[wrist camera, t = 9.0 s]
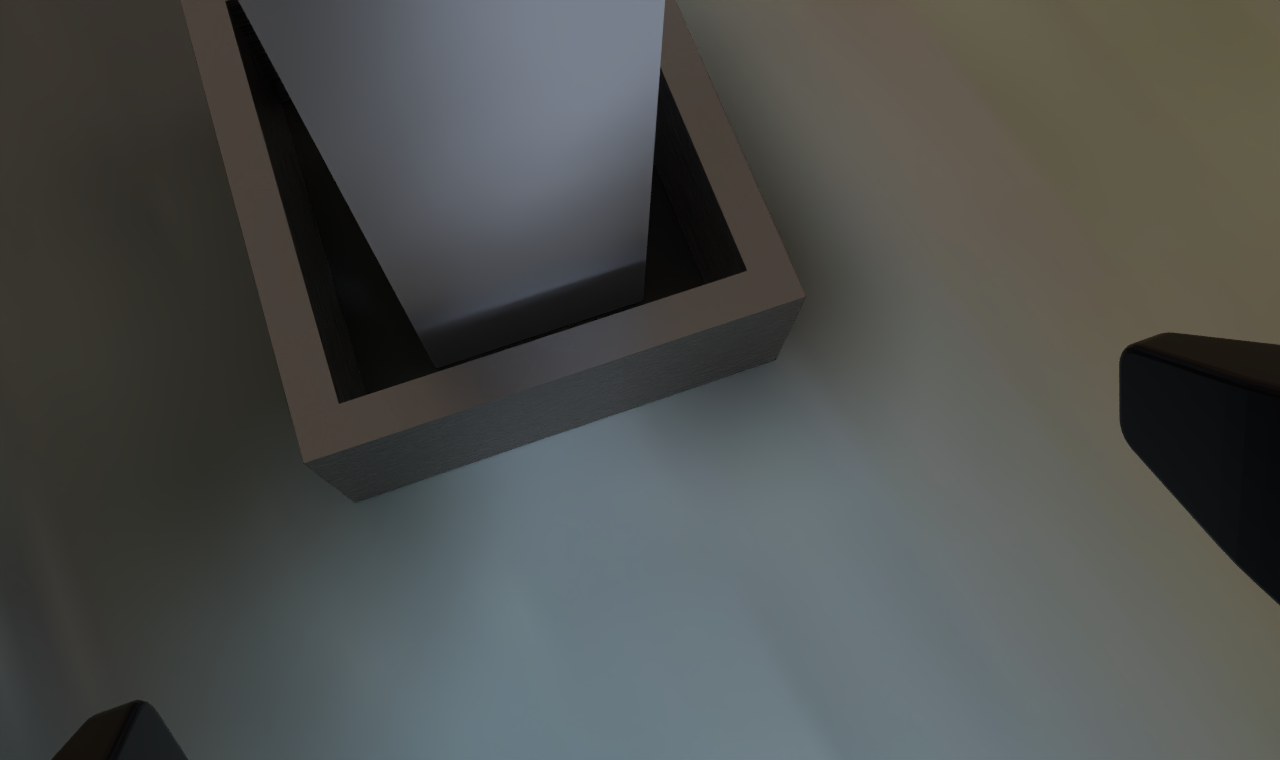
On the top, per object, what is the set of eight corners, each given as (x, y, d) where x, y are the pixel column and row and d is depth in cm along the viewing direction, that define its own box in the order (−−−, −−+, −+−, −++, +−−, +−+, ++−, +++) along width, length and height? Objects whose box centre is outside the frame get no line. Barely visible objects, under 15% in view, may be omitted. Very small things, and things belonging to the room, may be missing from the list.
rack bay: (775, 359, 18) (821, 264, 14) (354, 502, 17) (277, 443, 13) (614, -22, 21) (614, -195, 17) (238, 84, 20) (142, -74, 16)
